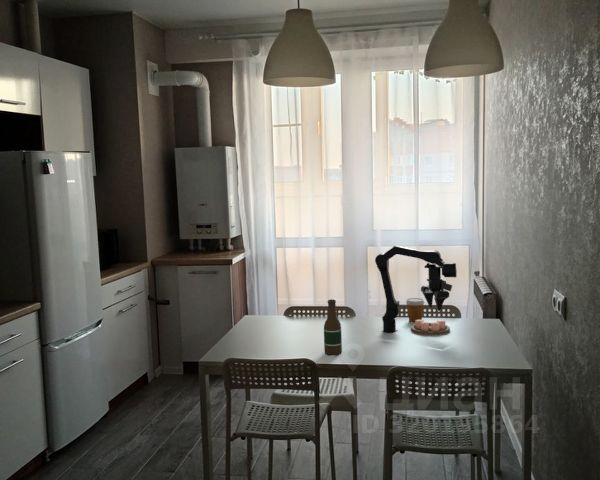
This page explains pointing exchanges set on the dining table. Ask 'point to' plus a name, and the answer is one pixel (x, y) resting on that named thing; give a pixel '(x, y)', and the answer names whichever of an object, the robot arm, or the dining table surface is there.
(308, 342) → the dining table surface
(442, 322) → the bead
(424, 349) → the dining table surface
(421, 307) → the beer glass
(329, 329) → the beer bottle
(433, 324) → the bead
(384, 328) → the robot arm
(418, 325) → the seated bead
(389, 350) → the dining table surface
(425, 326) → the seated bead
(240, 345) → the dining table surface
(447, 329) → the tray
